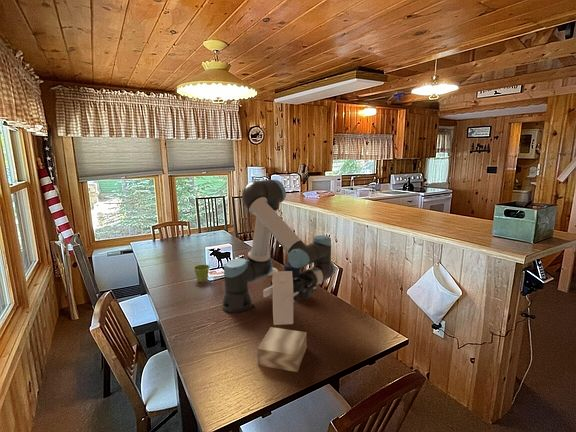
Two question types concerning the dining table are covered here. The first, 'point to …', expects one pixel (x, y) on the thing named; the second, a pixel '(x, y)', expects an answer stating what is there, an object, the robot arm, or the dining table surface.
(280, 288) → the milk carton
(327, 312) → the dining table surface
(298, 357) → the block
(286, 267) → the canister
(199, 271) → the plant pot
